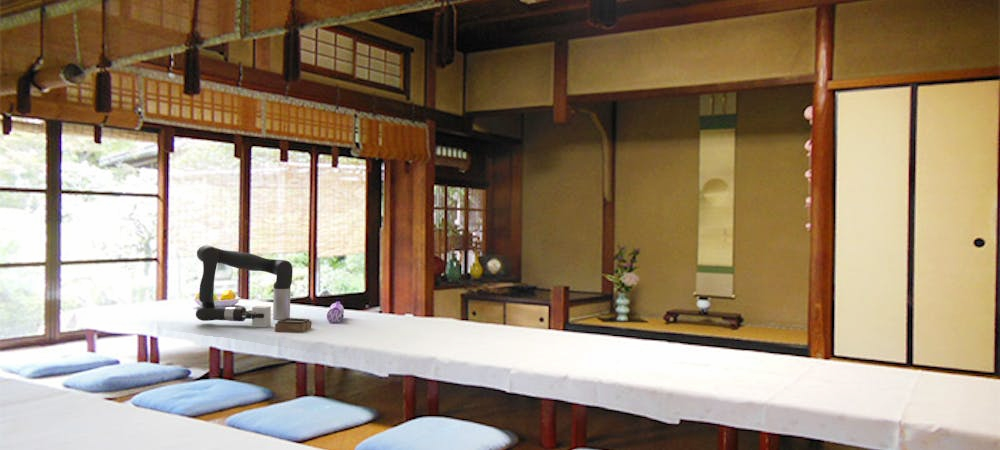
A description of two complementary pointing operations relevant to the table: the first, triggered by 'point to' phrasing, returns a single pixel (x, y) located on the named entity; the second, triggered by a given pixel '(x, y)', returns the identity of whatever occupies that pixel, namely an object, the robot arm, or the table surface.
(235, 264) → the robot arm
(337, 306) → the pencil case
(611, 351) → the table surface
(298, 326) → the brown wooden tray
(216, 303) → the fruit bowl
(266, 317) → the small box
